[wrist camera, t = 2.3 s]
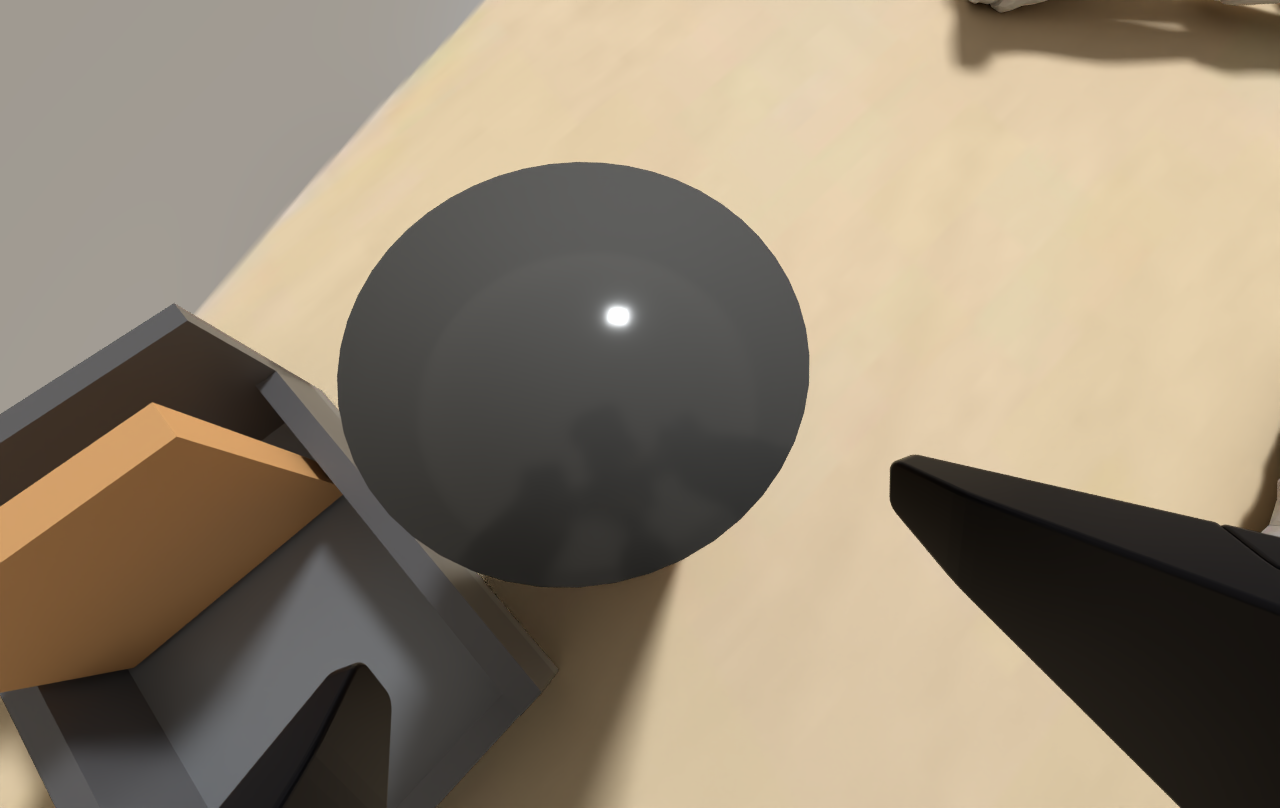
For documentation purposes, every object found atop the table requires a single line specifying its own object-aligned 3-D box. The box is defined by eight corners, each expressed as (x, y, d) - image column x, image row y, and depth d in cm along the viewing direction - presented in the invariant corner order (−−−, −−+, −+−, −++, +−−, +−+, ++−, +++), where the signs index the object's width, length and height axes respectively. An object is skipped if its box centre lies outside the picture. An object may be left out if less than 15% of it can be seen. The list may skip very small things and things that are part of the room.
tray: (559, 669, 16) (512, 731, 10) (289, 963, 14) (-12, 1306, 7) (321, 390, 20) (174, 303, 13) (69, 580, 17) (-267, 584, 11)
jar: (719, 558, 18) (878, 529, 6) (530, 596, 17) (326, 640, 6) (679, 386, 20) (741, 139, 9) (512, 414, 20) (344, 190, 8)
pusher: (349, 488, 17) (177, 436, 11) (134, 667, 15) (-245, 738, 9) (331, 466, 18) (152, 402, 11) (117, 639, 15) (-262, 686, 9)
